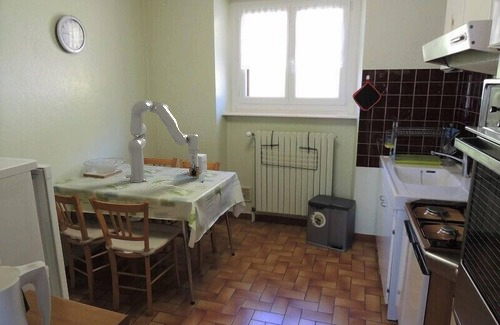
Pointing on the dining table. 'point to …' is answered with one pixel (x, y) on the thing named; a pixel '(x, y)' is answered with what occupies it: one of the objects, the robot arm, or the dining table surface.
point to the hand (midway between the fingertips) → (194, 174)
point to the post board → (189, 178)
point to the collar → (196, 172)
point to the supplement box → (202, 162)
